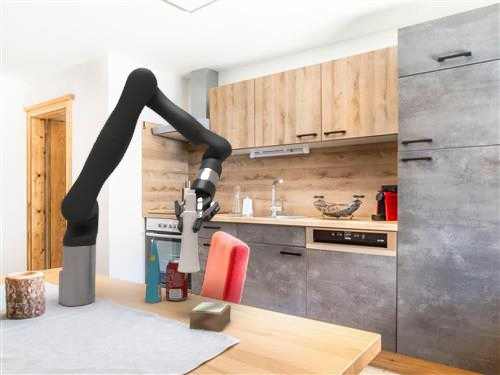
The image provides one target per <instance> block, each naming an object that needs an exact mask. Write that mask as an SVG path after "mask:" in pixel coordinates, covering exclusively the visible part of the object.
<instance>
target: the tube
mask: <svg viewBox="0 0 500 375" xmlns="http://www.w3.org/2000/svg"><path fill="white" fill-rule="evenodd" d="M152 239H153V240H152V244H151V247H150V253H149V256H148V257H149V258H148V264H147V270H146V272H147V273H146V285H145V298H144V299H145V302H146V303H148V304H155V303H159V302H162V294H163V293H162V276H161V265H160V258H159V251H158V246H157V242H156V240H155V237H152Z"/></svg>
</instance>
